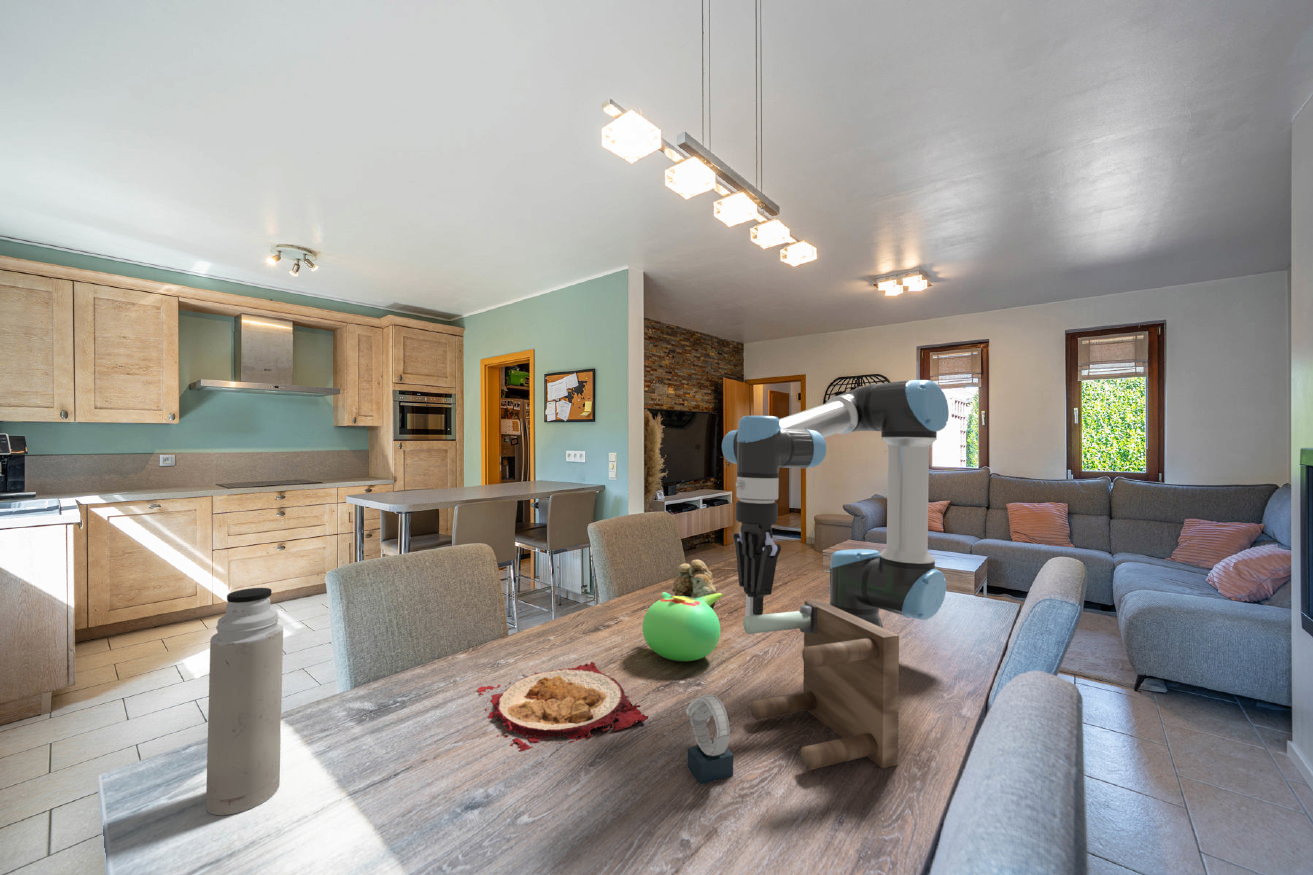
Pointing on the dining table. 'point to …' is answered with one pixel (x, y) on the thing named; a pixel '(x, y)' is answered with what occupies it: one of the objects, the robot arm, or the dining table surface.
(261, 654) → the thermos bottle
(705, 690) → the dining table surface
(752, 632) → the hinged leg
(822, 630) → the stool
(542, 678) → the plate with food
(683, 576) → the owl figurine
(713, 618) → the toy bird
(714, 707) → the watch
